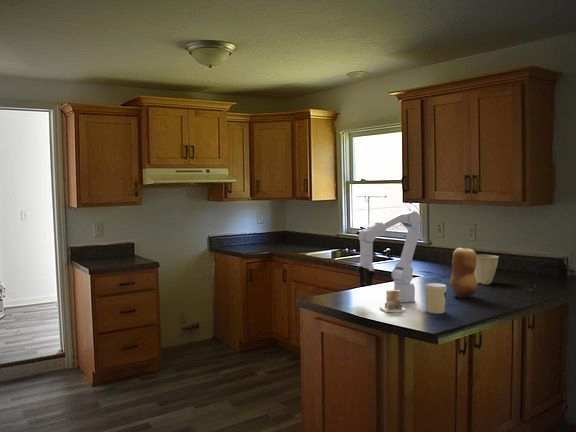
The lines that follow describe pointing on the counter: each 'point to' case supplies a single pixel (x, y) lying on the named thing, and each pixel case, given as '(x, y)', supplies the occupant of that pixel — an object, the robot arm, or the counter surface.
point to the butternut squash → (463, 272)
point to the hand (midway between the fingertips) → (365, 283)
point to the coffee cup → (435, 297)
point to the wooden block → (393, 298)
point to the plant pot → (485, 268)
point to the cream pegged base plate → (391, 308)
